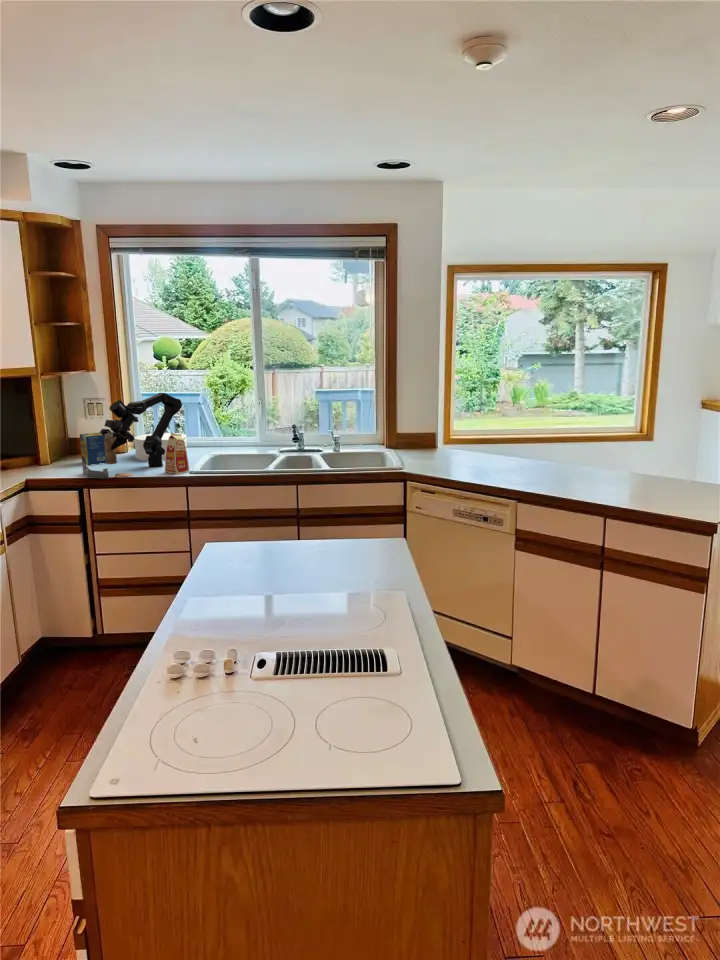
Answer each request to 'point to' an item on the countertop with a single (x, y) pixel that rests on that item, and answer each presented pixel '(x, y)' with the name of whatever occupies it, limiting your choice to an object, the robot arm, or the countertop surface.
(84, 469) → the gray curved bracket
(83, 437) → the protein box
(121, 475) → the trivet
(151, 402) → the robot arm
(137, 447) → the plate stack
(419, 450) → the countertop surface
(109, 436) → the pepper mill
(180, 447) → the milk carton
